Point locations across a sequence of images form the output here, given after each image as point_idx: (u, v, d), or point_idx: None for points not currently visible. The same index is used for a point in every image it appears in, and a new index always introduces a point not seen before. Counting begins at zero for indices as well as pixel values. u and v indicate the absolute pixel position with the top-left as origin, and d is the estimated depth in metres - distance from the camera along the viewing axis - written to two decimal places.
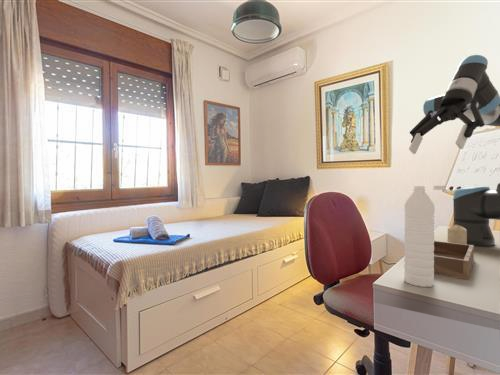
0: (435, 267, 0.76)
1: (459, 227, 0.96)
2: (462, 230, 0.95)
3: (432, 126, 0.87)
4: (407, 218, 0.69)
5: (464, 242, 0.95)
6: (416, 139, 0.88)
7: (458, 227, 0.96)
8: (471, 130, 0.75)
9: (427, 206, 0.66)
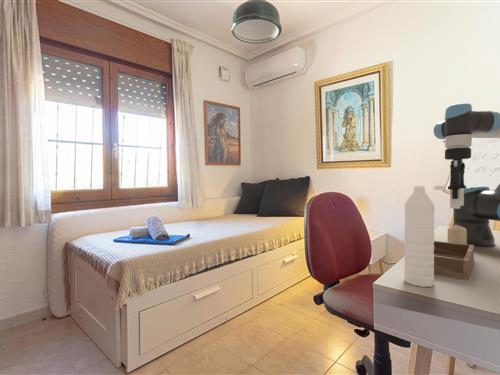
0: (435, 267, 0.76)
1: (459, 227, 0.96)
2: (462, 230, 0.95)
3: (460, 178, 1.00)
4: (407, 218, 0.69)
5: (464, 242, 0.95)
6: None
7: (458, 227, 0.96)
8: (454, 193, 0.91)
9: (427, 206, 0.66)
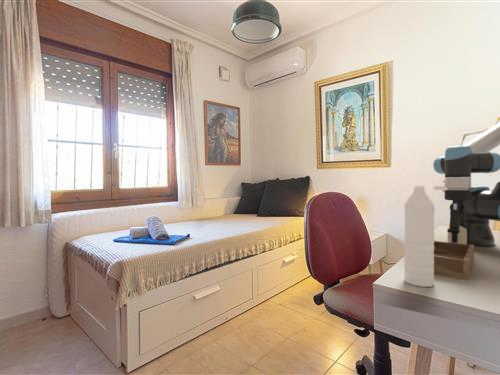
0: (435, 267, 0.76)
1: None
2: (462, 230, 0.95)
3: (460, 218, 1.00)
4: (407, 218, 0.69)
5: (464, 242, 0.95)
6: None
7: None
8: (454, 237, 0.91)
9: (427, 206, 0.66)
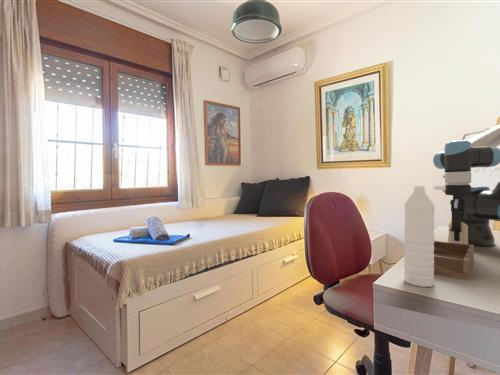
0: (435, 267, 0.76)
1: None
2: (463, 226, 0.95)
3: None
4: (407, 218, 0.69)
5: (465, 238, 0.95)
6: None
7: None
8: (456, 235, 0.94)
9: (427, 206, 0.66)
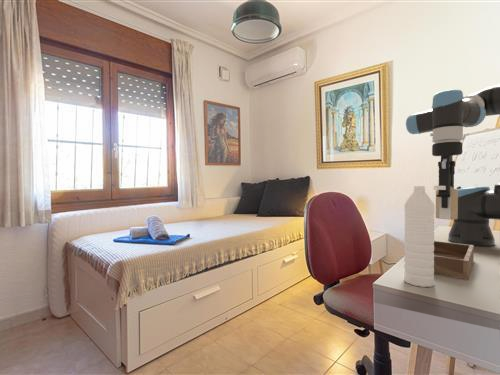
0: (435, 267, 0.76)
1: None
2: (453, 190, 0.80)
3: None
4: (407, 218, 0.69)
5: (455, 205, 0.80)
6: None
7: None
8: (444, 201, 0.80)
9: (427, 206, 0.66)
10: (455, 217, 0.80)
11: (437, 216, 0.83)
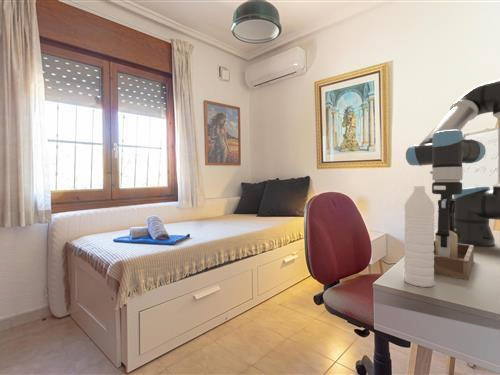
0: (435, 267, 0.76)
1: None
2: (452, 235, 0.81)
3: (449, 217, 0.85)
4: (407, 218, 0.69)
5: (454, 250, 0.81)
6: None
7: None
8: (443, 241, 0.79)
9: (427, 206, 0.66)
10: None
11: None
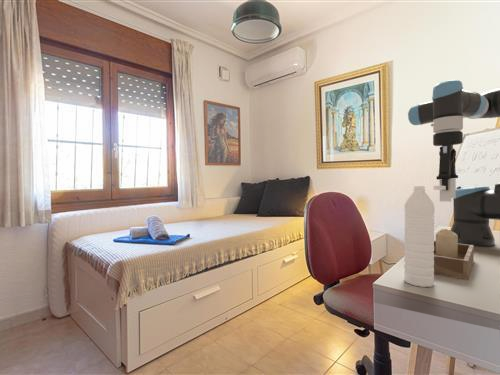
0: (435, 267, 0.76)
1: (449, 232, 0.81)
2: (452, 235, 0.81)
3: (451, 167, 0.88)
4: (407, 218, 0.69)
5: (454, 250, 0.81)
6: None
7: (447, 232, 0.81)
8: (444, 184, 0.79)
9: (427, 206, 0.66)
10: None
11: None
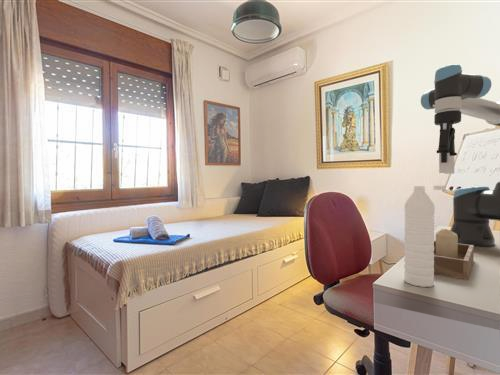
0: (435, 267, 0.76)
1: (449, 232, 0.81)
2: (452, 235, 0.81)
3: (450, 144, 0.96)
4: (407, 218, 0.69)
5: (454, 250, 0.81)
6: None
7: (447, 232, 0.81)
8: (443, 156, 0.88)
9: (427, 206, 0.66)
10: None
11: None
